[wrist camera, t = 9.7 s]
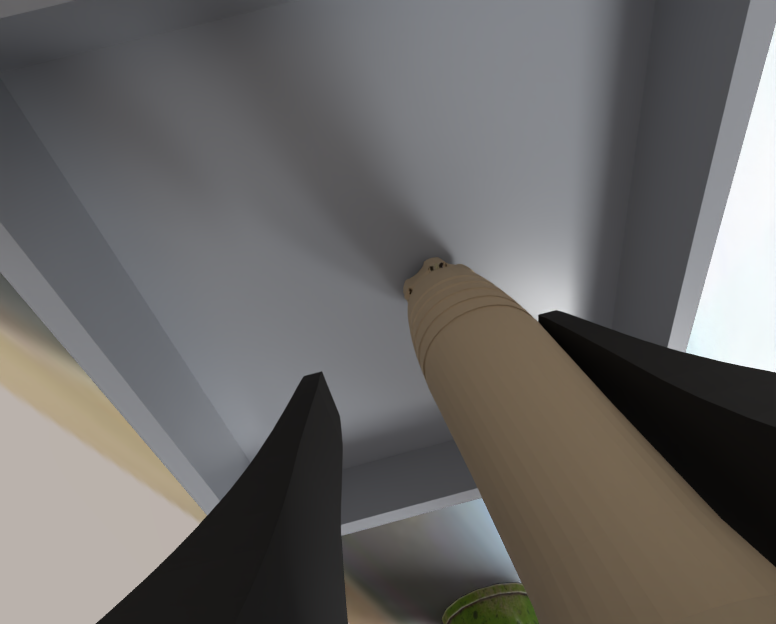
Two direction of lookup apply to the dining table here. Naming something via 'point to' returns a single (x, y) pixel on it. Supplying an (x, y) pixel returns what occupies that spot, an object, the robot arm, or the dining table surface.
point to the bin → (354, 199)
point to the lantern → (493, 606)
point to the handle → (573, 472)
